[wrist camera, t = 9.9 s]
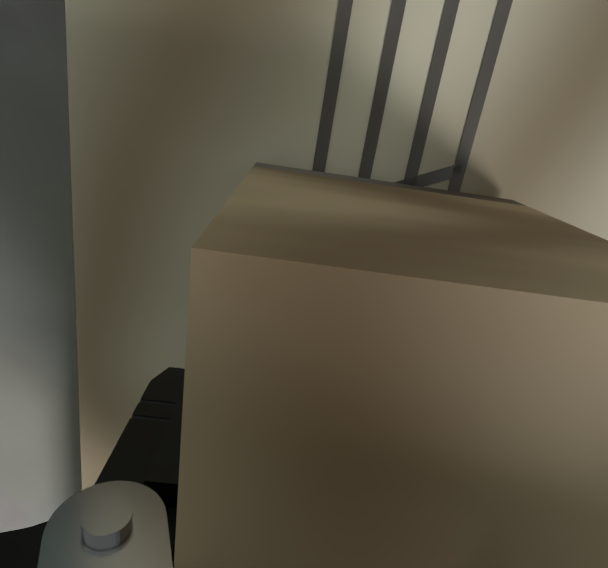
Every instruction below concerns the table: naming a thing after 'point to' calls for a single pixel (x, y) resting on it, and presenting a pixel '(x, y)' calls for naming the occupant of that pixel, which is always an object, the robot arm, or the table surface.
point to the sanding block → (392, 381)
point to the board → (300, 138)
